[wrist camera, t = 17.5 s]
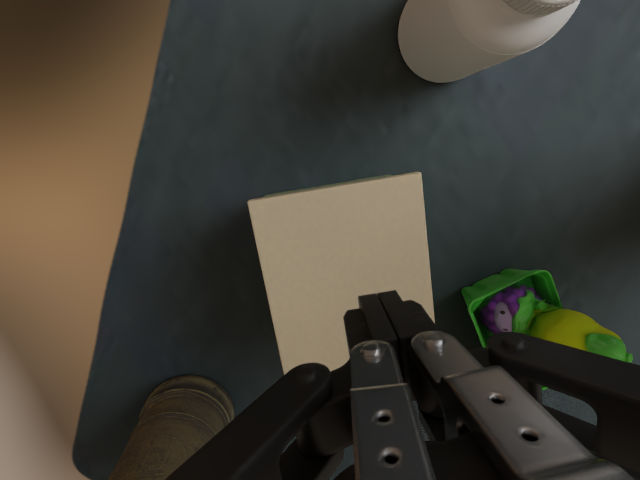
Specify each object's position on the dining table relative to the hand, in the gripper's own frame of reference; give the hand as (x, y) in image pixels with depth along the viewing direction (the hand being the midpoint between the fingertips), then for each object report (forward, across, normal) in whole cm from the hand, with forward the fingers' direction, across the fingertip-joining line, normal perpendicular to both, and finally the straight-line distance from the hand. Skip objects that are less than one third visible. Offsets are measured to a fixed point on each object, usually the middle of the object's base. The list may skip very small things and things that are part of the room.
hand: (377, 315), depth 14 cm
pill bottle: (+21, -11, -14) cm, 27 cm away
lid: (+12, 0, +3) cm, 12 cm away
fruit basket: (+21, -15, +12) cm, 29 cm away
